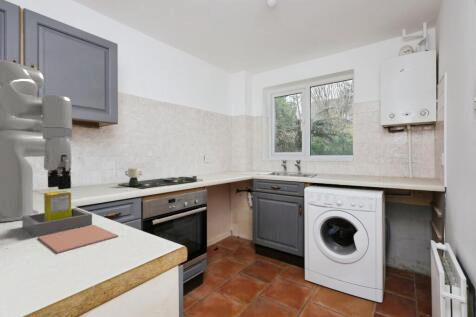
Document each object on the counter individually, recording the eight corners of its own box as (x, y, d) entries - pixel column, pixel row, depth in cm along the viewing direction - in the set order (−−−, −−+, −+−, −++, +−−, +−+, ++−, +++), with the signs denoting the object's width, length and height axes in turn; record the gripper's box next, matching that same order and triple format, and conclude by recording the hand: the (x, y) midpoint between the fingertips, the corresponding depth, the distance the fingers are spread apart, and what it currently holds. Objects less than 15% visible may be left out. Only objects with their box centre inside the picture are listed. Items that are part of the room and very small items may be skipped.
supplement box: (66, 222, 79) (66, 190, 78) (71, 225, 75) (71, 192, 75) (43, 226, 74) (43, 192, 74) (48, 230, 70) (48, 194, 70)
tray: (22, 227, 73) (22, 216, 73) (75, 217, 84) (75, 207, 84) (35, 237, 64) (35, 224, 64) (92, 224, 76) (92, 214, 76)
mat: (37, 238, 63) (37, 236, 63) (93, 225, 75) (93, 224, 75) (57, 253, 54) (57, 251, 54) (118, 236, 65) (118, 235, 65)
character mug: (142, 185, 172) (142, 168, 172) (141, 186, 165) (141, 168, 165) (126, 185, 169) (126, 168, 168) (124, 187, 162) (124, 168, 162)
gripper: (35, 135, 76) (36, 187, 76) (52, 131, 66) (53, 191, 66) (62, 137, 82) (63, 185, 82) (82, 133, 72) (83, 188, 72)
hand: (59, 187), depth 74 cm, fingers open, 9 cm apart
